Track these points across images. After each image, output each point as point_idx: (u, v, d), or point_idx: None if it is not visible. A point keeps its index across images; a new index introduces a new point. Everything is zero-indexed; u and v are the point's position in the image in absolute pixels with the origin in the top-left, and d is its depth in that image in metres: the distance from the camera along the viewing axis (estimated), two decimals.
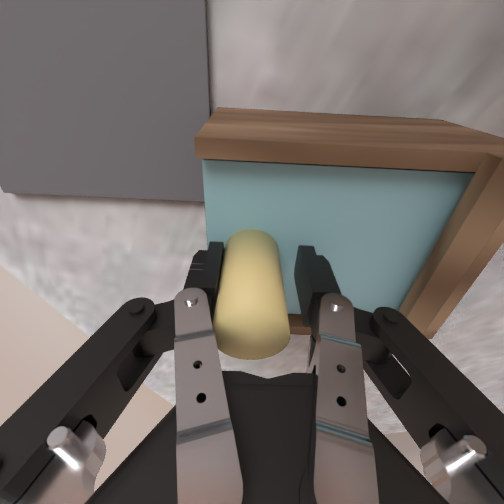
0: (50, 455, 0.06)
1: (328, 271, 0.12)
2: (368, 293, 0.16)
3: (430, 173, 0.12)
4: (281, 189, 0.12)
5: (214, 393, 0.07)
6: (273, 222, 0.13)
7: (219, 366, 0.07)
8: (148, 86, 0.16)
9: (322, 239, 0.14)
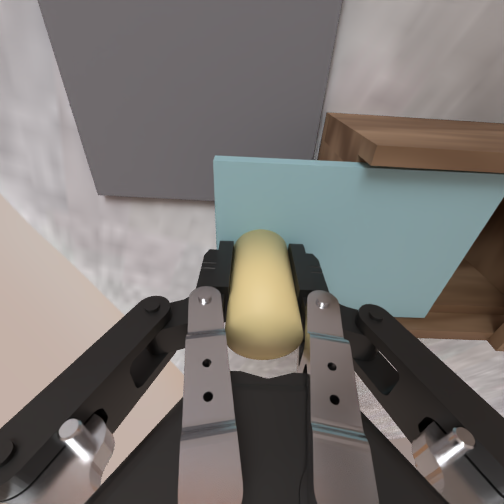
0: (61, 445, 0.06)
1: (317, 269, 0.12)
2: (376, 293, 0.16)
3: (441, 173, 0.12)
4: (291, 189, 0.12)
5: (221, 393, 0.07)
6: (282, 223, 0.13)
7: (228, 366, 0.07)
8: (266, 91, 0.16)
9: (331, 239, 0.14)
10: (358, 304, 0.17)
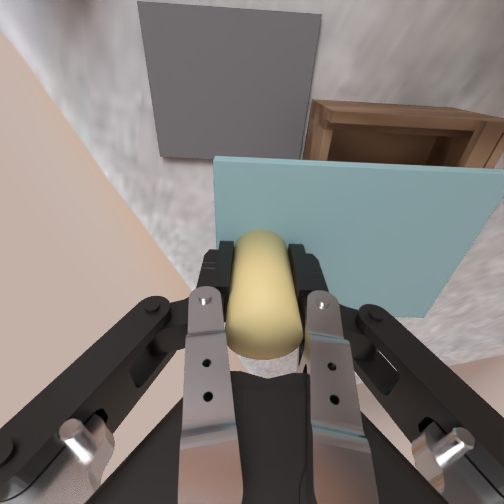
0: (61, 445, 0.06)
1: (317, 269, 0.12)
2: (376, 293, 0.16)
3: (440, 173, 0.12)
4: (291, 190, 0.12)
5: (221, 393, 0.07)
6: (282, 223, 0.13)
7: (228, 366, 0.07)
8: (273, 85, 0.26)
9: (331, 239, 0.14)
10: (357, 304, 0.17)
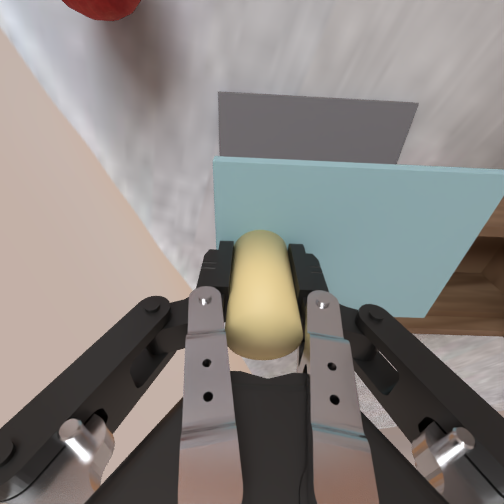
0: (61, 445, 0.06)
1: (317, 269, 0.12)
2: (376, 293, 0.16)
3: (440, 173, 0.12)
4: (291, 190, 0.12)
5: (221, 393, 0.07)
6: (282, 223, 0.13)
7: (228, 366, 0.07)
8: None
9: (331, 239, 0.14)
10: (357, 304, 0.17)
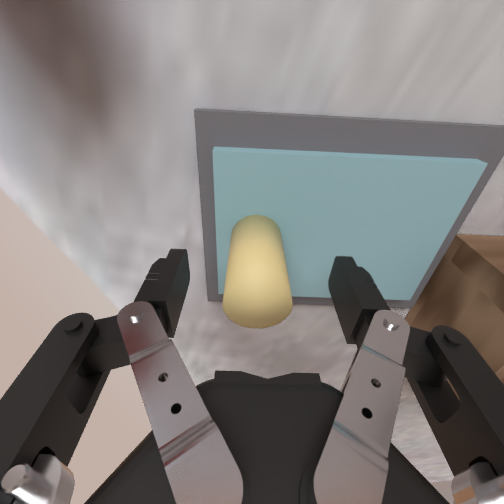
0: (8, 502, 0.06)
1: (371, 284, 0.12)
2: None
3: (418, 162, 0.13)
4: (283, 177, 0.13)
5: (188, 399, 0.06)
6: (276, 208, 0.15)
7: (186, 372, 0.07)
8: None
9: (321, 224, 0.15)
10: None
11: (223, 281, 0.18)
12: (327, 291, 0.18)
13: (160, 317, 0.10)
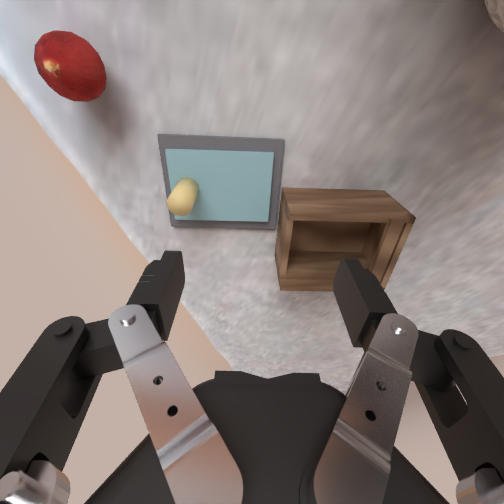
0: None
1: (377, 287, 0.12)
2: (241, 208, 0.38)
3: (246, 153, 0.33)
4: (194, 160, 0.34)
5: (185, 401, 0.06)
6: (194, 174, 0.35)
7: (181, 373, 0.07)
8: None
9: (215, 181, 0.35)
10: (235, 214, 0.38)
11: None
12: (226, 217, 0.38)
13: (152, 320, 0.10)
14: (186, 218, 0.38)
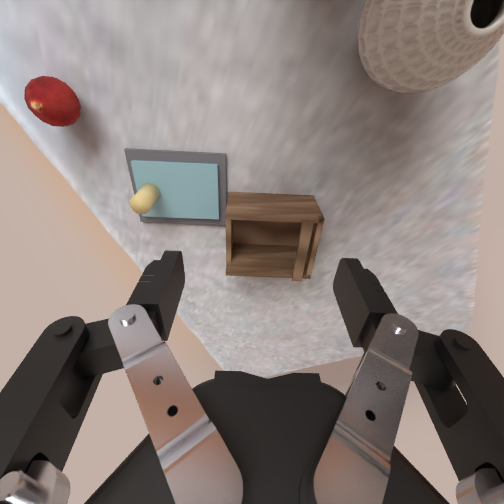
0: None
1: (377, 287, 0.12)
2: (196, 208, 0.46)
3: (195, 165, 0.42)
4: (154, 170, 0.42)
5: (184, 401, 0.06)
6: (155, 180, 0.43)
7: (181, 373, 0.07)
8: None
9: (172, 186, 0.44)
10: (191, 213, 0.47)
11: None
12: (184, 215, 0.47)
13: (153, 320, 0.10)
14: (152, 215, 0.47)
